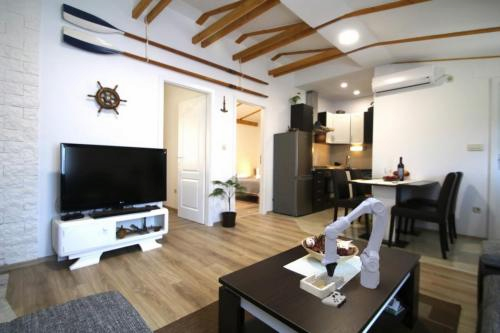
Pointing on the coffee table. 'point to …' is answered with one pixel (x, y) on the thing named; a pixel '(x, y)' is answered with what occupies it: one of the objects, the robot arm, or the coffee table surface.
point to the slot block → (331, 280)
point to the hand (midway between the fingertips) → (330, 276)
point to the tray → (314, 290)
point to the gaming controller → (334, 299)
